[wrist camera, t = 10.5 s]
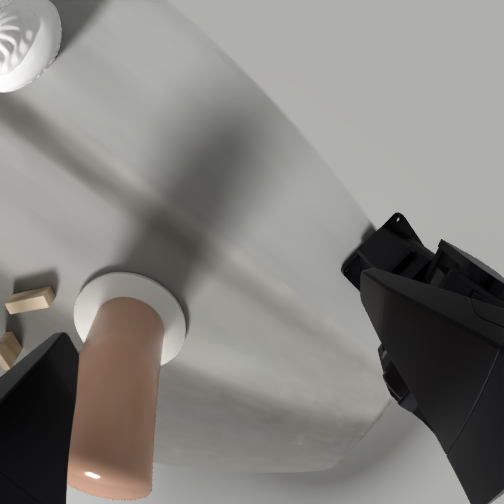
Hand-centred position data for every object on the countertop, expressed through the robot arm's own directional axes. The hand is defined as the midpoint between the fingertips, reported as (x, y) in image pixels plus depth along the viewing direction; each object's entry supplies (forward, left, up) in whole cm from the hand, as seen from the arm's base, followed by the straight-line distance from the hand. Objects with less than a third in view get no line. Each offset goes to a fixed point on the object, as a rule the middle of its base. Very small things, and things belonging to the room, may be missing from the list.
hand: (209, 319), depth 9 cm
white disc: (-2, +11, -13) cm, 17 cm away
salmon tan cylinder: (-2, +11, -12) cm, 17 cm away
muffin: (+16, 0, -13) cm, 21 cm away
